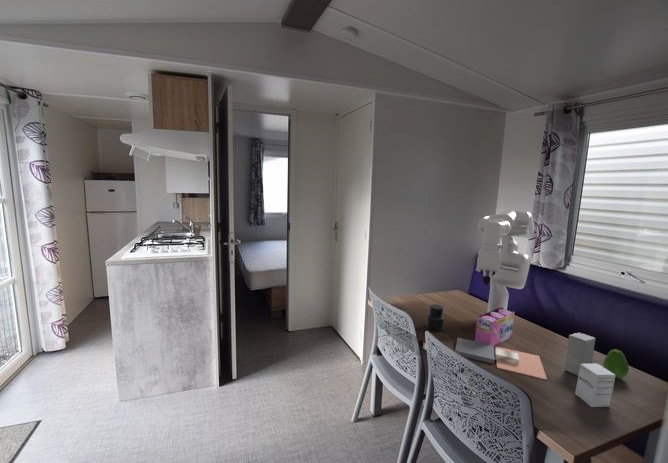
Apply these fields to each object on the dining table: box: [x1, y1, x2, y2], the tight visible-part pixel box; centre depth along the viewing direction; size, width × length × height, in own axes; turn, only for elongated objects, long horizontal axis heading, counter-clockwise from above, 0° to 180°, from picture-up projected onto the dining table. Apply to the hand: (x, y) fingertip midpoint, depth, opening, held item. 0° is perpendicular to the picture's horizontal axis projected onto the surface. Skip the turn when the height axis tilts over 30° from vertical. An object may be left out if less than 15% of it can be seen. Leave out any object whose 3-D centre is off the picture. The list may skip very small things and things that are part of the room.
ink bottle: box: [425, 303, 445, 332], centre depth 173 cm, size 10×9×12 cm
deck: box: [455, 337, 496, 365], centre depth 151 cm, size 14×16×2 cm
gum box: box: [474, 307, 515, 347], centre depth 164 cm, size 24×8×14 cm, turn 127°
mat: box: [494, 345, 548, 381], centre depth 144 cm, size 20×18×1 cm
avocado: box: [602, 348, 629, 379], centre depth 134 cm, size 8×8×12 cm
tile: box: [494, 348, 519, 365], centre depth 145 cm, size 9×6×2 cm, turn 65°
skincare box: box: [564, 332, 596, 377], centre depth 137 cm, size 8×7×16 cm
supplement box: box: [574, 362, 616, 408], centre depth 119 cm, size 7×7×13 cm
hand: (486, 284), depth 158 cm, fingers closed
